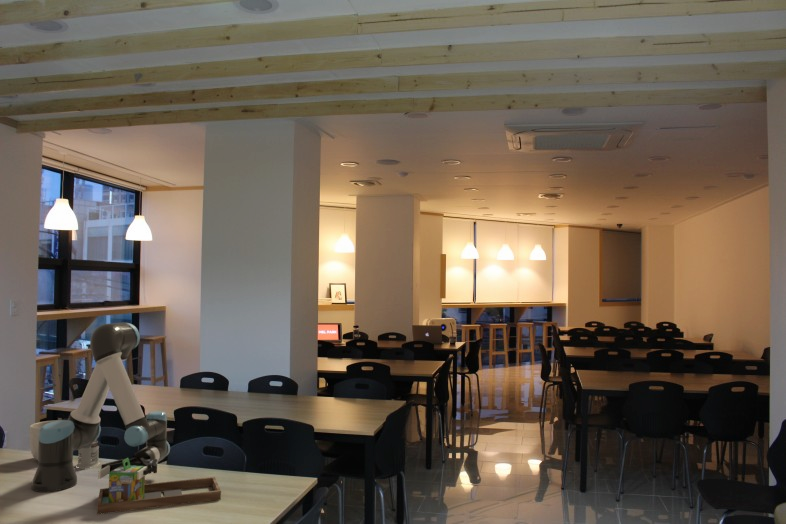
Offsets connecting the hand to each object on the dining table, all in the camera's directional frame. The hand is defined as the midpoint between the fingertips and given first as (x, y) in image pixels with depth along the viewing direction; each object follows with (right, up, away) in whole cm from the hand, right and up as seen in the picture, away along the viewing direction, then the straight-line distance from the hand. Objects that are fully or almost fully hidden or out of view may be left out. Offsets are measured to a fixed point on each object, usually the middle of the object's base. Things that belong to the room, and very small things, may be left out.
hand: (118, 475), depth 208 cm
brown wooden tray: (+11, -11, +8) cm, 18 cm away
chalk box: (+2, -10, +2) cm, 11 cm away
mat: (0, -11, +3) cm, 11 cm away
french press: (-35, -13, +48) cm, 61 cm away
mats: (+11, -11, +8) cm, 18 cm away
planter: (-56, -13, +56) cm, 80 cm away
